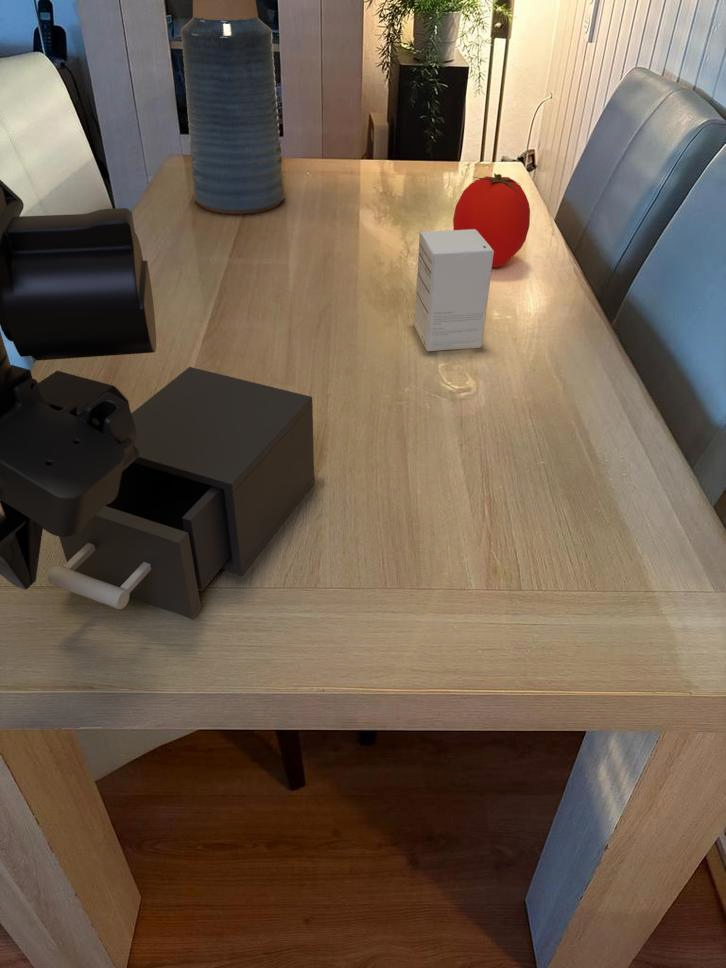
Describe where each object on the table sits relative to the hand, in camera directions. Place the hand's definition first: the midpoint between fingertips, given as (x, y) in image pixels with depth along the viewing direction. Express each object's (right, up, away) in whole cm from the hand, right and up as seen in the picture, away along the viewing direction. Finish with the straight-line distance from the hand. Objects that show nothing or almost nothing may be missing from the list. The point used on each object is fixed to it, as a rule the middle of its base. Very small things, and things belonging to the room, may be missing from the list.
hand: (24, 584), depth 46 cm
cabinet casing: (+8, +4, +21) cm, 23 cm away
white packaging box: (+32, +25, +49) cm, 63 cm away
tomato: (+40, +40, +69) cm, 89 cm away
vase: (-1, +58, +90) cm, 107 cm away
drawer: (+5, 0, +14) cm, 15 cm away
